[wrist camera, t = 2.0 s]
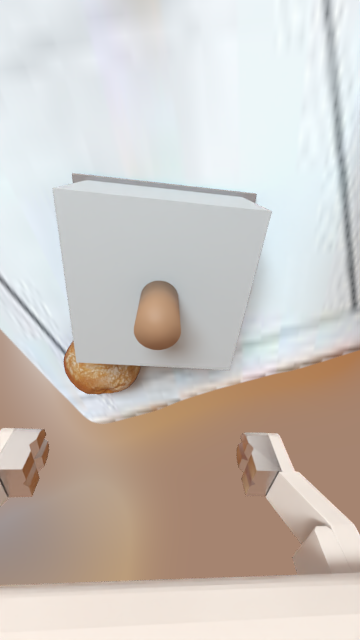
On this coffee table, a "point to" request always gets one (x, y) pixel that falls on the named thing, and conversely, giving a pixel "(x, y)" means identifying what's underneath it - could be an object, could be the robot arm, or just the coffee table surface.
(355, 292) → the coffee table surface
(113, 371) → the bread roll
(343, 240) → the coffee table surface
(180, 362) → the cover
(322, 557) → the robot arm
